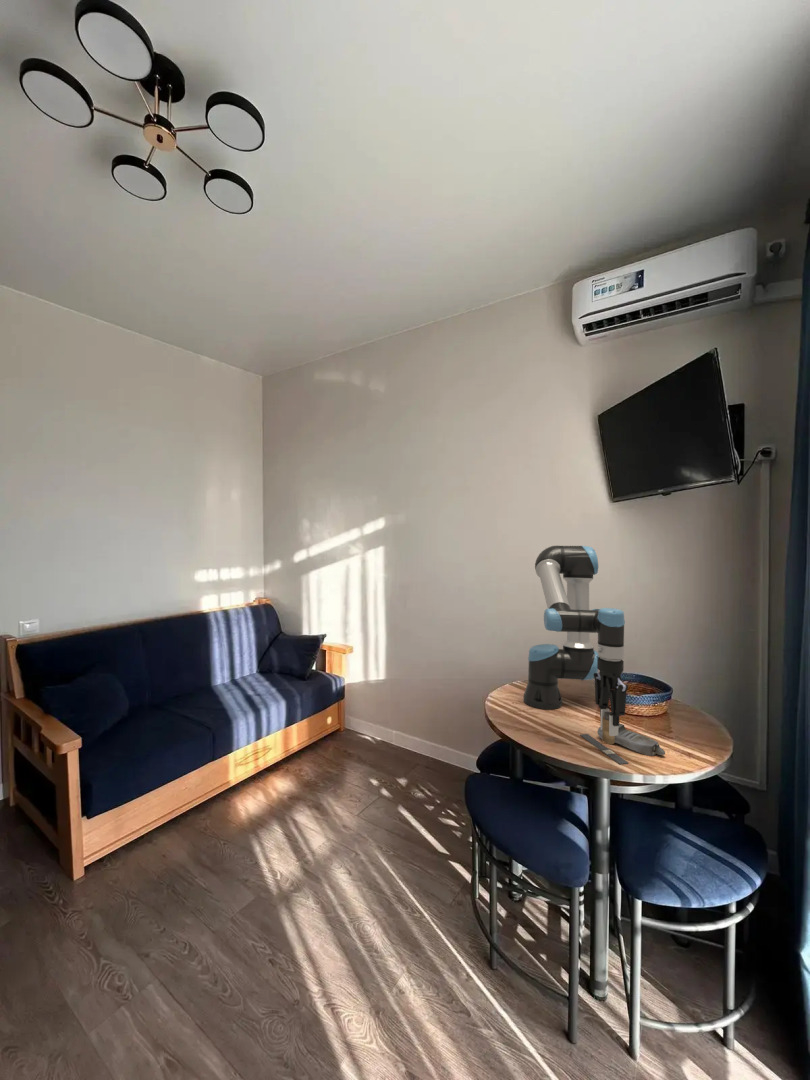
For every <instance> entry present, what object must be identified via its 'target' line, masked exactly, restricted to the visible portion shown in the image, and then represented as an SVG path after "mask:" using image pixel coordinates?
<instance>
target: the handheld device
mask: <svg viewBox="0 0 810 1080" xmlns="http://www.w3.org/2000/svg"><path fill="white" fill-rule="evenodd" d="M602 733H603V730H601V726H599V727H598V728H597V735H598V737H599V738H600V739H601V740H602ZM614 744H618V745H619V746H622V747H624V748H626V749H629V750H631V751H633V752H636V753H638V754H642V755H645V756H649V757H654V756H655V755H657V756H665V755H666V750H664V748H662V747H660V744H659V741H657V740H655V739H654V738H650V737H649V736H646V735H644V734H640V733H638V732H634V731H631V730H629V729H627V728H626V727H625V724H623V723H620V722H619V726H618V736H615V743H614Z"/></svg>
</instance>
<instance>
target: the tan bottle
mask: <svg viewBox="0 0 810 1080" xmlns="http://www.w3.org/2000/svg"><path fill="white" fill-rule="evenodd" d="M609 713H611V711H610V712H605V717H604V718H603V733H602V739H601V741H602V742H603V743H605V744H608V745H614V744H616V743H615V736H610V735H609Z"/></svg>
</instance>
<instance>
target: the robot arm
mask: <svg viewBox="0 0 810 1080" xmlns="http://www.w3.org/2000/svg"><path fill="white" fill-rule="evenodd" d="M597 555H598V554H597V553H596V551H595V549H594V548H593V547H592V546H587V545H552V546H549V547H545V549H543V550H542V551H541V552H540V553H539V554H538V555H537V558H536V560H535V563H534V568H535V574H536V575H537V576H538V578H539V580H540V583H541V586H542V591H543V595H544V600H545V603H546V606H547V608H546V609H545V610H544V612H543V625H544V628H545V630H547V631H550V632H552V631H553V632H557V633H559V632H560V633H561V632H565V633H566V641H565V642H564V643H562V648H559V646H558V645H556V644H550V643H542V644H536V645H534V646H531V647H530V648H529V650H528V657H527V660H528V668H527V669H528V676H527V681H528V682H527V685H526V688H525V690H524V693H523V703H525V704H526V705H527V706H530V707H532V708H535V709H541V710H556V709H560V708H561V707H562V706H563V698H562V695H561V692H560V688H559V685H558V683H559V679H561V680H562V679H564V680H581V681H587V680H588V681H591V680H594V694H595V695H594V697H595V698H594V699H595V701H594V702H595V704H596V705H598V708H599V710H600V711H599V713H600V714H599V717H600V718H599V719H600V727H601V730H603V718H604V717H605V712H611V713H609V735H610V736H618V726H619V723H620V716H625V714H626V702H627V692H628V688H629V685H628V684H624V682H623V681H622V677H621V674H622V673H623V672H624V668H625V667H624V658H625V652H624V651H625V645H624V643H625V624H626V623H625V622H626V621H625V613H624V611H623V610H621V609H618V608H613V607H612V608H611V607H601V608H594V609H590V583H591V582H592V581H593V580H594V576H595V575H597V574H598V573H599V572H598V571H599V560H598V556H597ZM561 575H562V577H561ZM562 578H563V580H564V581H565V582H566V590H565V586H564V584H563V583H564V582H563V580H562ZM590 633H591V634H592V633H594V634H597V650H594V649H595V648H594V647H595V646H593V644H592V643H591V642H590ZM598 671H599V672H598ZM609 701H610V702H609ZM609 703H610V706H609ZM610 710H611V711H610Z"/></svg>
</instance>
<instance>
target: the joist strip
mask: <svg viewBox="0 0 810 1080" xmlns="http://www.w3.org/2000/svg"><path fill="white" fill-rule="evenodd" d="M579 737H582V739H584V740H585V741H587V742H588V743H590V744H591V745H592V746H594V747H595V748H597V750H599V751H600V752H602V753H603V754H605V755H606V756H607V757H609V758H610V759H611V760H613V761H614V762H615V763H617V764H618V765H628V764H629V762H628V761H627V760H625V759H624V758H623V757H621V756H619V755H618V754H617V753H616V752H614V751H613V750H612V749H610V748H608V747H607V746H606V745H604V744H603V743H602V742H600V741H598V740H597V739H596V738H594V737H593V736H592V735H590V734H588V733H583V734H579Z"/></svg>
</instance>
